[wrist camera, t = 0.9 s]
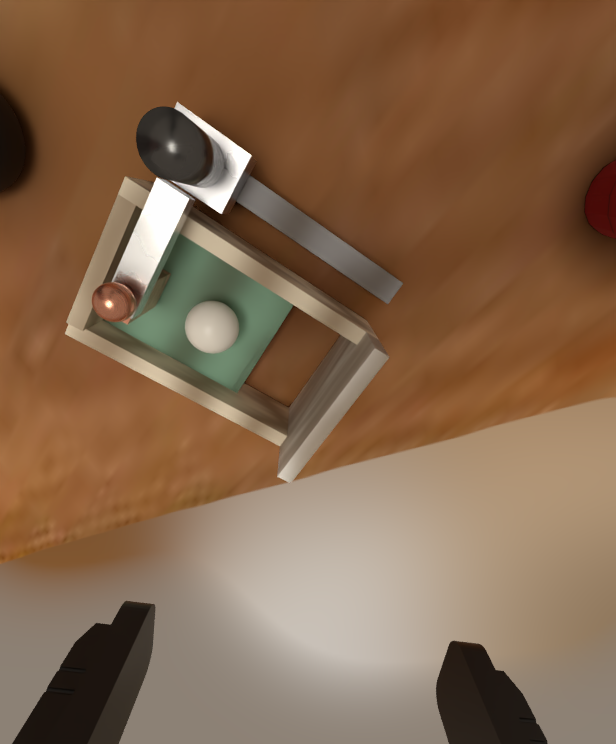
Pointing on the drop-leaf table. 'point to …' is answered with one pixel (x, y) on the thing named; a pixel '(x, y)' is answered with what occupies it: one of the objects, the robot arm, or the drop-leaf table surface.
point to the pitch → (239, 319)
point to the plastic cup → (603, 201)
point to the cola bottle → (10, 146)
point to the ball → (212, 327)
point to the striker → (171, 203)
